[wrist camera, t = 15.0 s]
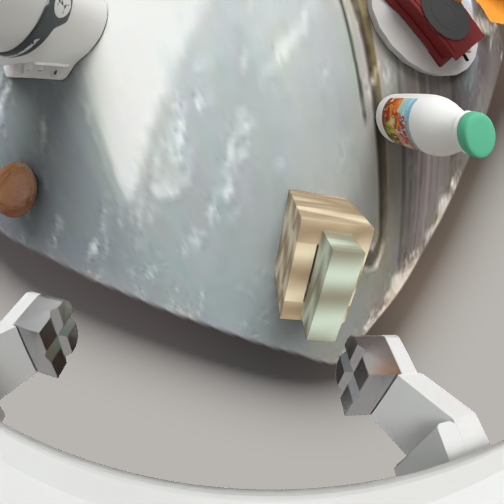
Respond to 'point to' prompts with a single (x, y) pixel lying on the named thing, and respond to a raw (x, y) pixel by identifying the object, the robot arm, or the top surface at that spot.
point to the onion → (17, 189)
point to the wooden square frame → (312, 243)
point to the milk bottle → (434, 125)
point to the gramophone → (432, 32)
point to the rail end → (331, 284)
